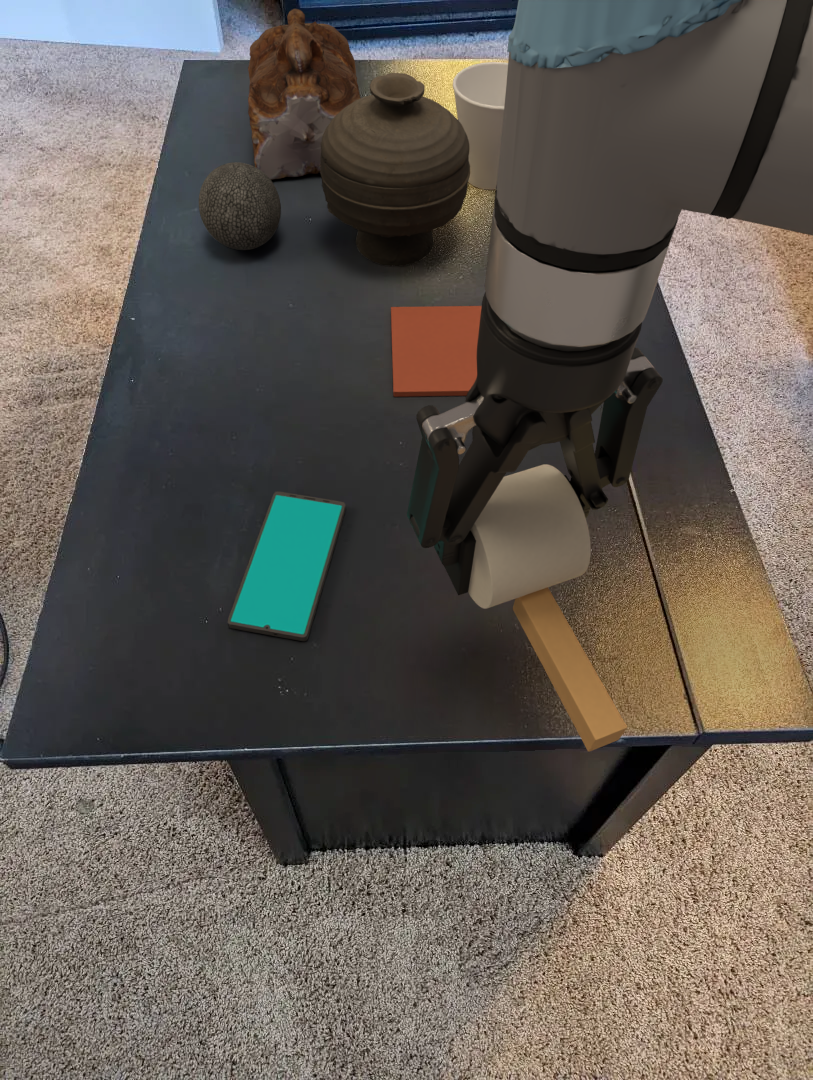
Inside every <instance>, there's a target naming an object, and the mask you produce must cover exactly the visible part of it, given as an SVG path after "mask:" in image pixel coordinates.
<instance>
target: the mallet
mask: <svg viewBox="0 0 813 1080" xmlns="http://www.w3.org/2000/svg"><path fill="white" fill-rule="evenodd" d="M564 475H565V474H563V473H562V472H561V470H559V469H557V468H556V467H555V466H553V465H551V464H541V465H537V466H535V467H531V468H528V469H524V470H521V471H518V472H515V473H514V472H513V473H511V474H509V475H505V476H504V477H503V479H502V480H501V482H500V484H499V485H498V487H497V488H496V490H495V492H494V493H493V495H492V496H491V498H490V500H489V501H488V503H487V504H486V506H485V507H484V509H483V511H482V512H481V514H480V515H479V517H478V519H477V520H476V522H475V523H474V525H473V527H472V528H471V532H472V534H473V536H474V538H475V540H476V545H475V551H474V558H473V564H472V571H471V577H470V583H469V590H468V592H467V593H468V595H469V596H470V598H471V599H472V600H473V602H474V603H475V604H476V605H477V606H478V607H480V608H481V609H484V610H487V609H489V608H493V607H496V606H498V605H501V604H505V603H507V602H510V601H514V602H513V606H512V610H513V612H514V615H515V616H516V619H517V620H518V622H519V624H520V626H521V628H522V629H523V631H524V634H525V635H526V638H527V639H528V641H529V643H530V644H531V646H532V648H533V651H534V652H535V654H536V656H537V658H538V660H539V661H540V663H541V665H542V667H543V669H544V671H545V673H546V674H547V677H548V678H549V680H550V683H551V684H552V686H553V688H554V690H555V692H556V694H557V695H558V697H559V699H560V702H561V704H562V705H563V707H564V709H565V711H566V713H567V715H568V717H569V719H570V720H571V722H572V725H573V726H574V727H575V730H576V732H577V734H578V735H579V737H580V739H581V740H582V743H583V745H584V747H585V749H586V750H587V752H592V751H594V750H595V751H596V750H597V749H599V748H602V747H604V746H607V745H609V744H611V743H614V742H617V741H619V740H620V739H621V737H622V736H623V735H624V733H625V731H626V730H627V729H628V725H627V724H626V722H625V720H624V719H623V717H622V715H621V713H620V712H619V710H618V708H617V706H616V705H615V702H614V700H613V699H612V697H611V696H610V694H609V692H608V690H607V689H606V687H605V685H604V683H603V682H602V680H601V678H600V676H599V674H598V672H597V671H596V669H595V667H594V665H593V664H592V662H591V660H590V659H589V656H588V655H587V653H586V652H585V650H584V648H583V647H582V646H583V645H581V643H580V641H579V639H578V638H577V636H576V634H575V632H574V630H573V628H572V627H571V625H570V623H569V621H568V620H567V618H566V616H565V615H564V613H563V611H562V609H561V607H560V606H559V604H558V603H557V601H556V598H555V597H554V596H553V593H552V592H551V590H550V587H553V586H555V585H559V584H561V583H565V582H567V581H570V580H573V579H576V578H579V577H582V576H583V575H584V574H585V573H586V572H587V570H588V568H589V565H590V562H591V555H592V554H591V553H592V548H591V547H592V545H591V544H592V543H591V535H590V530H589V526H588V522H587V518H585V515H584V512H583V509H582V506H581V504H580V502H579V499H578V497H577V495H576V493H575V491H574V489H573V488H572V486H571V484H570V483H569V482H568V480H567V479H566V478H565V476H564Z"/></svg>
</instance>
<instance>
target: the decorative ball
mask: <svg viewBox="0 0 813 1080" xmlns="http://www.w3.org/2000/svg"><path fill="white" fill-rule="evenodd" d="M198 211H199V215H200V218H201V222H202V224H203V225H204V227H205V229H206V230H207V232H208V234H209V235H211V237H212V238H213V239H214V240H215V241H217V242H218V243H220V244H221V245H223V246H224V247H227V248H229V249H232V250H238V251H249V250H254V249H257V248H259V247H261V246H263V245H265V244H267V242H268V241H270V239H271V238H272V237H273V236H274V234H275V233H276V232H277V229H278V227H279V225H280V222H281V217H282V216H281V215H282V204H281V200H280V195H279V192H278V190H277V187H276V185H275V184H274V182H273V181H272V180H270V178H269V177H268V176H267V175H266V174H265V173H263V172H262V171H261V170H259V169H258V168H256V167H255V165H251V164H248V163H246V162H239V161H237V162H235V161H233V162H228V163H224V164H221V165H219V166H217V167H215V168H214V169H212V171H211V172H209V173H208V174H207V176H206V177H205V179H204V181H203V183H202V184H201V187H200V190H199V194H198Z"/></svg>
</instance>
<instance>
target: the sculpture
mask: <svg viewBox="0 0 813 1080" xmlns="http://www.w3.org/2000/svg"><path fill="white" fill-rule="evenodd" d="M286 18H287V24H280V25H276V26H272V27H269V28H266V29H265V30H264V31H263V32H262V33H261V34H260V36H259V37H258V38H257V39H256V40H254V41H253V42H252V43H251V45H250V46H249V57H250V58H249V63H248V66H247V70H248V79H249V88H248V89H249V91H248V97H247V103H248V106H247V107H248V108H247V109H248V110H247V114H248V116H249V125H250V129H251V143H252V151H253V158H254V159H253V163H254V167H256V168H258V169H259V170H261V171H262V172H263V173H265V174H266V175H267V176H268V177H269V178H270V180H271V181H272V180H280V179H285V178H297V177H303V176H305V175H318V174H321V173H320V170H321V168H320V167H321V165H320V164H321V162H320V159H321V141H322V137H323V134H324V131H325V129H326V128H327V126H328V125H329V124H330V122H331V120H332V119H333V118H334V117H335V116H336V115H337V114H338V113H339V112H340V111H341V110H342V109H344V108H345V107H346V106H348V105H350V104H351V103H353V102H354V101H356V100H358V99H360V98H362V97H361V93H360V87H359V84H358V77H357V68H356V60H355V58H354V54H353V53H352V51H351V49H350V44H349V41H348V39H347V37H346V36H344V35H343V34H342V33H341V32H339V30H338V29H337V28H335V27H334V26H332V25H330V24H329V23H318V22H317V21H314V22H306V14H305V13H304V11H302V10H301V9H298V8H293V9H291V10H290V11H289V12H288V14H287V17H286Z"/></svg>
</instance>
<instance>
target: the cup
mask: <svg viewBox="0 0 813 1080" xmlns="http://www.w3.org/2000/svg"><path fill="white" fill-rule="evenodd" d="M507 72H508V62H505V61H487V62H485V61H484V62H480V63H475V64H471V65H468V66H467V67H464V68H462V69H461V70H460V71H459V72H457V73H456V75H455V76H454V77H453V79H452V90H453V93H454V94H453V95H454V103H455V109H456V116H457V117H456V119H457V120H458V121H459V122H460V123H461V124H462V126H463V128H464V131H465V132H466V134H467V137H468V140H469V146H470V151H469V164H470V177H469V180H468V184H470V185H472V186H473V187H475V188H477V189H481V190H491V191H492V190H493V191H494V190H496V185H497V176H498V166H499V155H500V145H501V135H502V125H503V115H504V105H505V94H506V84H507Z"/></svg>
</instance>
